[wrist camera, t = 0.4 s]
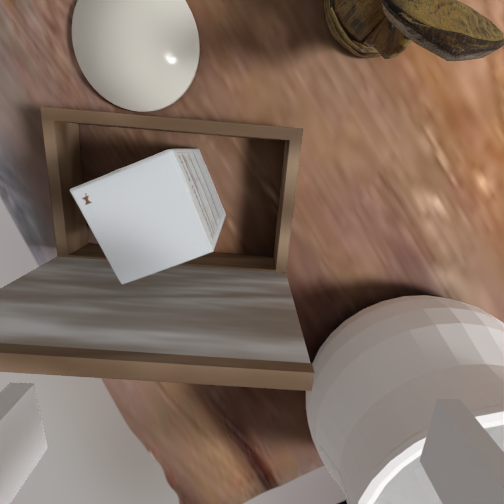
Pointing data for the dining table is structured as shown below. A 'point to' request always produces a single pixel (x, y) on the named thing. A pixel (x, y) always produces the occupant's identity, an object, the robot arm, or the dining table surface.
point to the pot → (401, 391)
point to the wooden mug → (411, 28)
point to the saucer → (137, 50)
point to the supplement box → (153, 213)
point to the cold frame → (155, 289)
